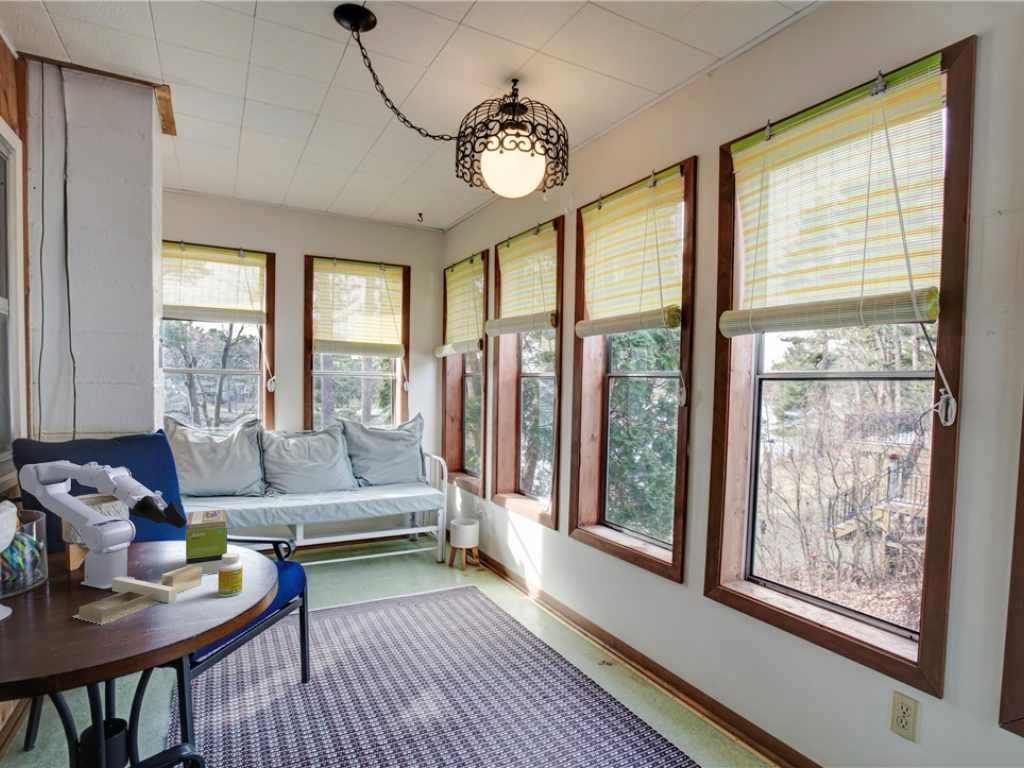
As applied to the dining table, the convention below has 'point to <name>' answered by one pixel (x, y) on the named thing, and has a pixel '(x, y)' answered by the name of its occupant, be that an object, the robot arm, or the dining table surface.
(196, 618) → the dining table surface
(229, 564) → the supplement bottle
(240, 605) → the dining table surface
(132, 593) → the keeper
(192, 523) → the tea box
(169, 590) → the board
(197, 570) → the bar
